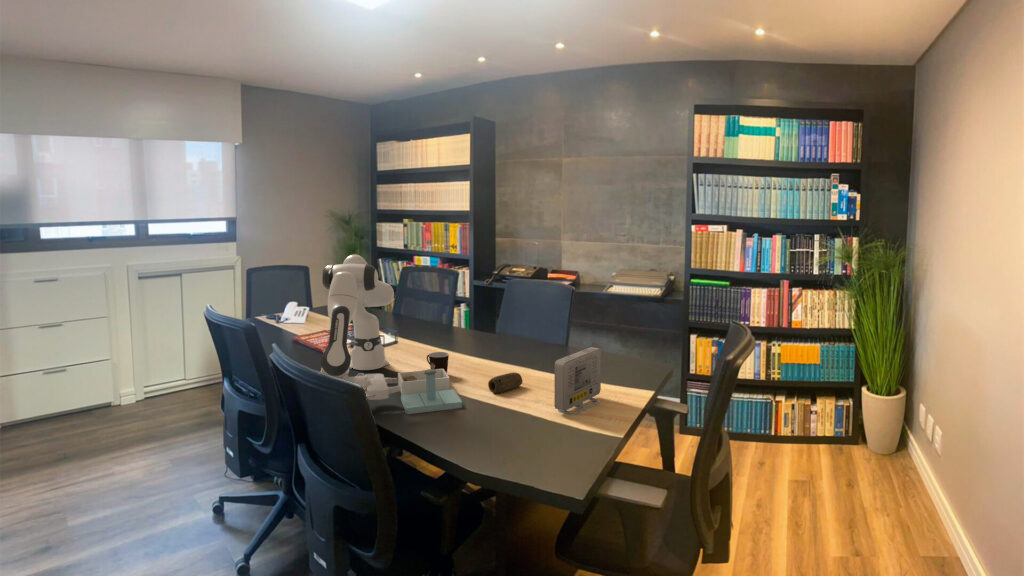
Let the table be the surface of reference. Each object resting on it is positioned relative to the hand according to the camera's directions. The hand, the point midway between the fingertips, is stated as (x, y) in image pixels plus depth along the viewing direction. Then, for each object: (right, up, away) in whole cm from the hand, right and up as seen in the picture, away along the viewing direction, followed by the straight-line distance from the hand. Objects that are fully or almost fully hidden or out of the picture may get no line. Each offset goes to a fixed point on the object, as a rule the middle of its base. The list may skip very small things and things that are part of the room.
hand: (398, 384), depth 226 cm
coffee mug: (+10, -3, +40) cm, 41 cm away
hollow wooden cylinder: (+39, -6, +21) cm, 45 cm away
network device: (+67, -9, +2) cm, 68 cm away
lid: (+11, -8, +5) cm, 15 cm away
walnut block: (+1, -5, +23) cm, 23 cm away
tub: (+6, -6, +22) cm, 23 cm away
